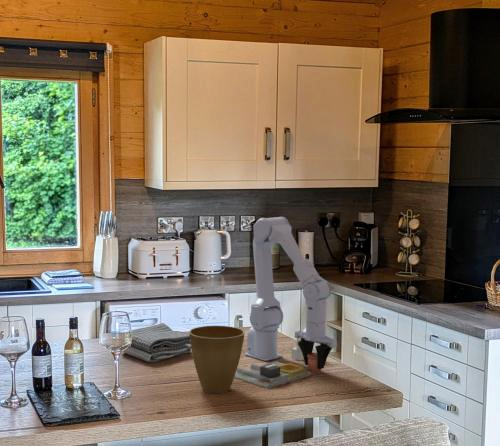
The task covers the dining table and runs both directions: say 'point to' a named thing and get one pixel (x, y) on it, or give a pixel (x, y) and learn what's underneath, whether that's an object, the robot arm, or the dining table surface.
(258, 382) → the panel
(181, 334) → the towel
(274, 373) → the switch
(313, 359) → the cap
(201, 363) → the plant pot
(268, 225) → the robot arm
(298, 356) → the white angled block
